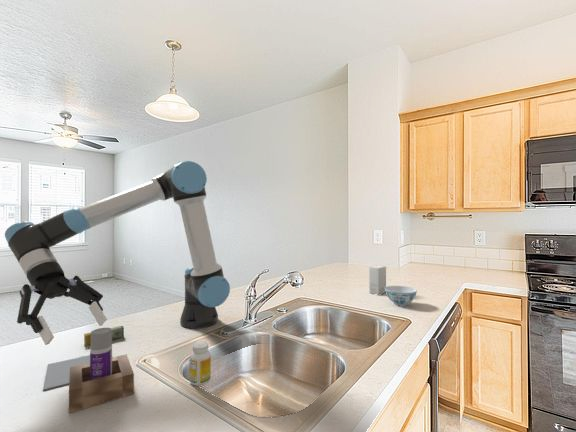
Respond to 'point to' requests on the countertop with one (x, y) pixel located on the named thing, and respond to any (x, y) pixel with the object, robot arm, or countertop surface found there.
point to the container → (101, 353)
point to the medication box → (116, 334)
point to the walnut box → (100, 384)
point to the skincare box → (377, 279)
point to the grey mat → (61, 372)
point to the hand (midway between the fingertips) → (78, 331)
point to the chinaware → (400, 294)
